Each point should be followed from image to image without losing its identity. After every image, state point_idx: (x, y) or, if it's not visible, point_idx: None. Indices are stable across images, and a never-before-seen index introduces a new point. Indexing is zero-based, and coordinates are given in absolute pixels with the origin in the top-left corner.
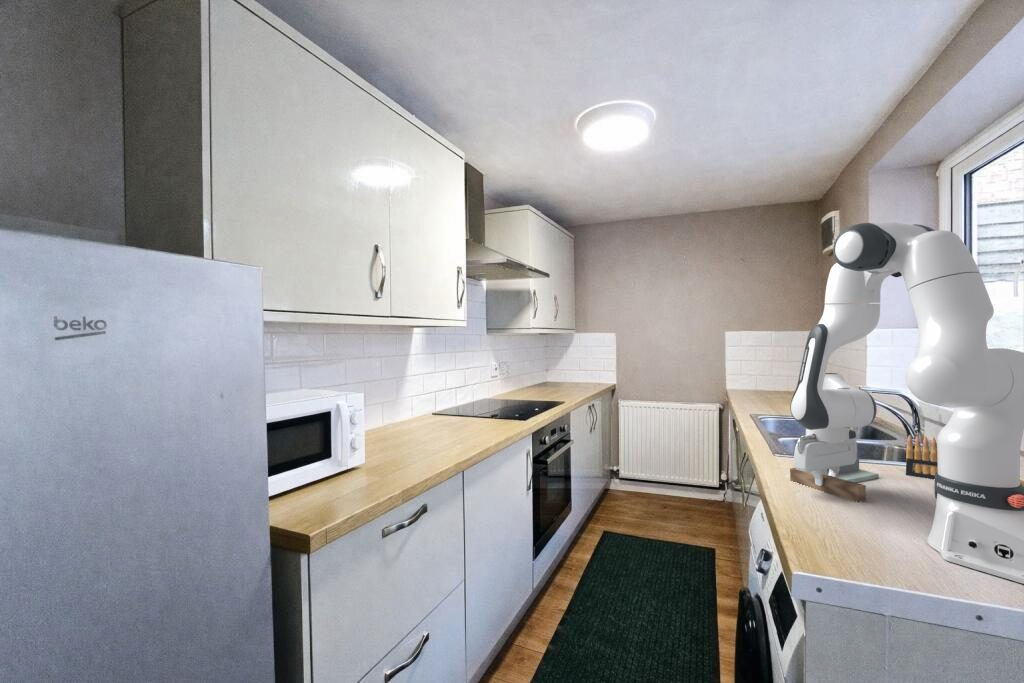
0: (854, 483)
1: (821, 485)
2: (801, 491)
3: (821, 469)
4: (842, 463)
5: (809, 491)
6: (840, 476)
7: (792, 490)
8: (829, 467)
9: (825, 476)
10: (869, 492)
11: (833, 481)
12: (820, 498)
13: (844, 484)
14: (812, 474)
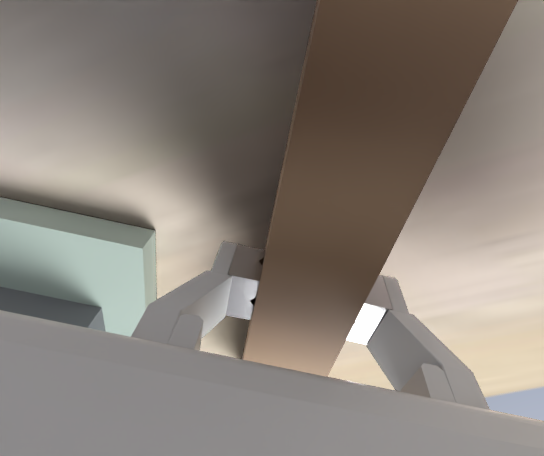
0: (357, 59)
1: (385, 276)
2: (438, 309)
3: (513, 416)
4: (99, 363)
5: (405, 287)
6: (9, 269)
7: (451, 336)
8: (374, 394)
9: (307, 317)
10: (61, 25)
11: (390, 243)
12: (535, 206)
13: (440, 139)
14: (327, 374)
